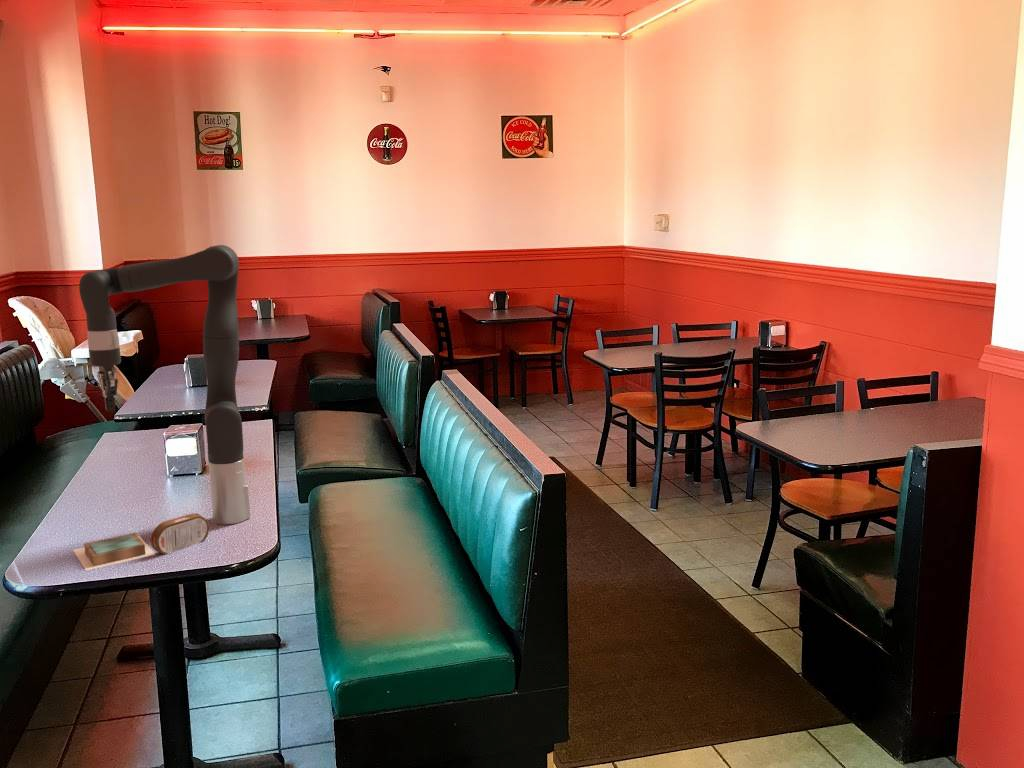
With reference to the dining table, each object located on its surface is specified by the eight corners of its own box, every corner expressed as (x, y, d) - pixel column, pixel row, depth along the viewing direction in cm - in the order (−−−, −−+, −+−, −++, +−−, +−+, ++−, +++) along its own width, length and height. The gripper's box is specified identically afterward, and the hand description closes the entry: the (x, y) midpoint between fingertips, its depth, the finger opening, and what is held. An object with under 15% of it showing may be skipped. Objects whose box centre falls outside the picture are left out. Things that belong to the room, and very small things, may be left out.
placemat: (139, 537, 235) (139, 535, 234) (155, 556, 222) (155, 554, 222) (73, 551, 225) (72, 549, 225) (86, 572, 213) (86, 570, 213)
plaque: (134, 532, 229) (144, 544, 221) (135, 542, 230) (145, 554, 222) (83, 543, 222) (92, 555, 215) (85, 553, 223) (93, 566, 215)
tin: (205, 539, 233) (202, 508, 232) (212, 541, 231) (209, 511, 230) (151, 557, 222) (148, 525, 220) (158, 560, 220) (155, 528, 218)
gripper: (125, 348, 232) (131, 413, 235) (113, 342, 242) (119, 404, 246) (94, 351, 228) (101, 417, 231) (83, 345, 238) (90, 408, 242)
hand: (110, 410), depth 239 cm, fingers closed
